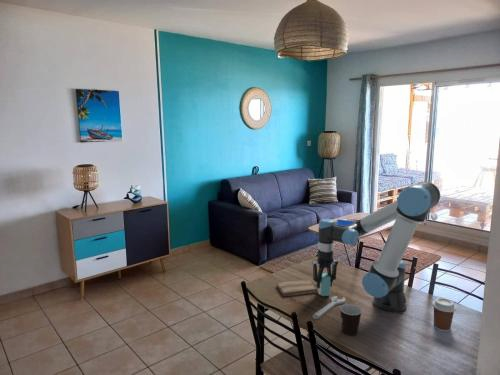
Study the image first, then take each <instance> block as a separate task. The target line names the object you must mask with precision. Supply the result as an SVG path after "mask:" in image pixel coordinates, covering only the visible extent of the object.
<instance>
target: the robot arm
mask: <svg viewBox="0 0 500 375" xmlns="http://www.w3.org/2000/svg"><path fill="white" fill-rule="evenodd" d="M440 191H441V190H440V189H439V187H438V186H437V185H436V184H434V183H433V182H430V181H420V182H417V183H415V184H411V185H408V186H405V188H403V189H402V190H400V192H399V194H398V196H397V199H396V200H394V201H392V202H391V203H389V204H386V205H385V206H382V207H381V208H380V209H378V210H376V211H374V212H372V213H369V214H368V215H366V216H364V217H362V218H361V219H358V220H356V221H355V222H351V223H350V224H348V225H346V226H338V225H336V224H335V220H334V219H332V218H322V219H320V220H319V222H318V227H317V228H318V239H317V240H318V242H317V260H316V261H312V262H311V265H312V280H313V281H314V282H315V283H316V288H317V293H318V294H319V296H322V295H321V293H322V282H321V278H322V273H324V272H323V271H324V270H325V268H326V273H327V274H328V275H329V276H330V288H332V287H333V282H334V281H336V280H337V270H338V268H337V267H338V264H339V261H337V260H336V259H334V258H333V257H334V244H335V243H334V242H336V243H340V244H345V245H347V246H355V245H356V244H357V242H358V241H359V238H361V237H364V236H365V235H366V234H369V233H370V232H372V231H375V230H377V229H379V228H381V227H383V226H385V225H387V224H389V223H391V222H393V221H394V223H393V226H392V227H391V230H390V232H389V234H388V236H387V237H386V238H387V239H386V241H385V243H384V245H383V247H382V250H381V252H380V255H379V256H378V258H377V259H375V260H374V261H373V262H372V263H371V265H370V267H369V270H368V271H367V273H365V274H364V275H363V277H362V279H361V280H362V281H361V284H362V287H363V290H364V291H365V292H366V293H367V294H368V295H369V296H370V297H373V300H372V303H373V305H374V306H375V307H376V308H379V309H381V310H383V311H386V312H390V313H400V312H403V311H405V310H406V309H407V304H408V302H407V298H406V294H405V292H404V289H405V278H406V262H405V260H402V259H403V257H404V256H405V255H404V254H405V253H406V250H407V249H408V246H409V244H410V243H411V241H412V239H413V236H414V233H415V232H416V230H417V228H418V225H419V224H422V223H424V222H425V220H426V218H427V216H428V214H429V213H430V210H431V209H433V208H434V207H436V206H437V204H438V203H439V202H440V200H441V192H440ZM331 266H332V267H331Z"/></svg>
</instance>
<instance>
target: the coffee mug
mask: <svg viewBox="0 0 500 375" xmlns="http://www.w3.org/2000/svg"><path fill="white" fill-rule="evenodd" d="M339 308H340V310H339V311H340V320H341V332H342V333H343V334H344V335H347V336H351V337H352V336H357V334H358V333H359V332H358V331H359V328H360V321H361V316H362V312H363V310H362V309H361V307H359V306H358V305H355V304H342V305H341V306H340V307H339Z"/></svg>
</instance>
